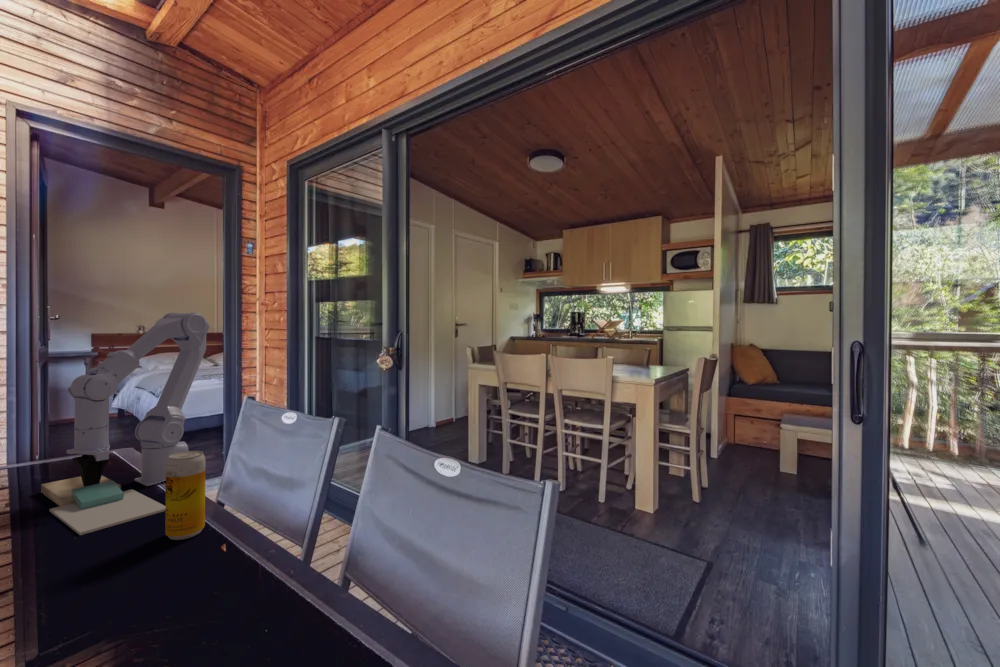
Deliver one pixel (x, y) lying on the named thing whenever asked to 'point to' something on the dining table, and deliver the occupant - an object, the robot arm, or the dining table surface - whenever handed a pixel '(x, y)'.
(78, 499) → the tile
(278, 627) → the dining table surface
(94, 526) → the mat
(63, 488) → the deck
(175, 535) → the beer can
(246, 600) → the dining table surface
